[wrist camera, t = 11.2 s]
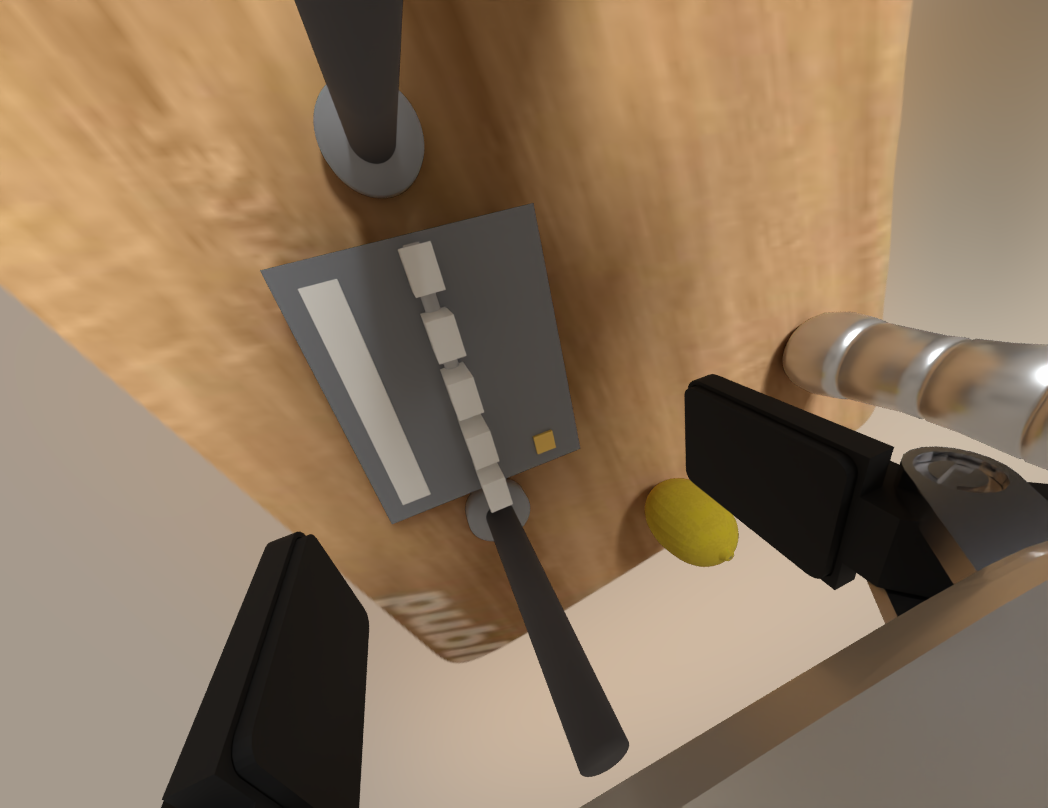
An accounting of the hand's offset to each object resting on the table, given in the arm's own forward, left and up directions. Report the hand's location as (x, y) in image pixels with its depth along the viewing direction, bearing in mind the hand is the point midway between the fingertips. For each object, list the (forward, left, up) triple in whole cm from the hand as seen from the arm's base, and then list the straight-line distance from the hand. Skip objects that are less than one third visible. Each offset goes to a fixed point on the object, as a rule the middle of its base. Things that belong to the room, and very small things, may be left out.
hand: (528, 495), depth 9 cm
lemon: (+17, +13, -15) cm, 25 cm away
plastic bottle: (+9, +28, -15) cm, 33 cm away
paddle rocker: (+1, 0, -11) cm, 11 cm away
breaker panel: (+1, 0, -14) cm, 14 cm away
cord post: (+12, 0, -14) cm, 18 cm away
